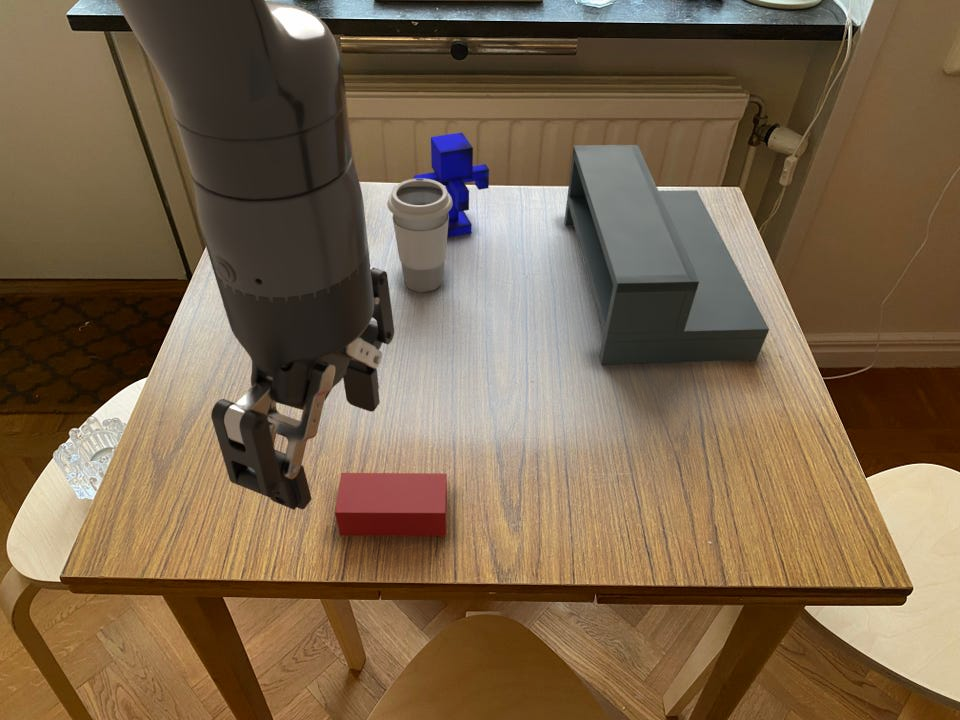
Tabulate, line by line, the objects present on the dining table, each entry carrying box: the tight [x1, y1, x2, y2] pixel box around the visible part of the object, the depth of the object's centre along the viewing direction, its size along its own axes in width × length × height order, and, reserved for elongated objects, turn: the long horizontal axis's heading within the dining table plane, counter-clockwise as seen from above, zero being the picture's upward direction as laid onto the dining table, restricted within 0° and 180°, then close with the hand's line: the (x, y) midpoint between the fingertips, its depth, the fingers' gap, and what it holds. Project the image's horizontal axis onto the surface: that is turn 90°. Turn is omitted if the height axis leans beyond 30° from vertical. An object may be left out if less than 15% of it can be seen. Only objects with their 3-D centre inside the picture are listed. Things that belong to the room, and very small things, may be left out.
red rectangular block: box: [334, 472, 448, 537], centre depth 60 cm, size 9×4×4 cm, turn 91°
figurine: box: [413, 132, 490, 238], centre depth 89 cm, size 8×8×12 cm
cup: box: [386, 178, 453, 293], centre depth 81 cm, size 7×7×12 cm
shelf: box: [564, 144, 770, 365], centre depth 81 cm, size 27×17×11 cm, turn 4°
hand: (331, 449), depth 46 cm, fingers open, 8 cm apart
